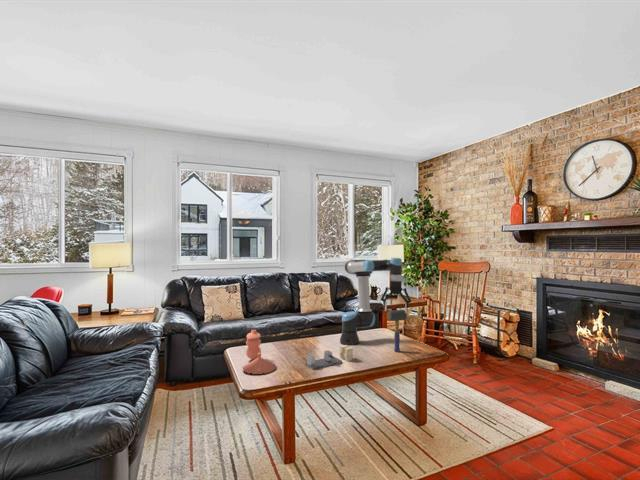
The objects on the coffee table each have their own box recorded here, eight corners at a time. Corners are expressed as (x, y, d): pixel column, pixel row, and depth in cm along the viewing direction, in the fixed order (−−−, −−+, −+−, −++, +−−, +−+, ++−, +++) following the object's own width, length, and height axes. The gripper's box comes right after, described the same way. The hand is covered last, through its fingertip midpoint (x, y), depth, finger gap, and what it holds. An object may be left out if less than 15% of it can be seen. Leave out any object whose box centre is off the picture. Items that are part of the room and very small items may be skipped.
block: (339, 357, 235) (339, 346, 236) (345, 356, 238) (345, 345, 238) (346, 361, 229) (346, 349, 229) (352, 360, 231) (352, 348, 231)
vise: (305, 364, 222) (305, 353, 222) (333, 358, 234) (333, 348, 234) (313, 369, 214) (313, 358, 214) (342, 362, 225) (342, 352, 225)
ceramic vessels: (280, 371, 212) (280, 340, 212) (245, 376, 204) (245, 344, 204) (267, 353, 244) (267, 327, 244) (236, 357, 236) (236, 329, 237)
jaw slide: (324, 359, 227) (324, 350, 227) (328, 358, 229) (328, 350, 229) (331, 363, 220) (331, 354, 220) (334, 362, 222) (334, 353, 222)
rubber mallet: (402, 349, 252) (402, 308, 253) (407, 353, 245) (407, 310, 245) (386, 351, 249) (386, 309, 250) (391, 354, 242) (391, 311, 242)
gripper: (376, 280, 237) (376, 311, 237) (414, 282, 228) (414, 314, 228) (378, 279, 244) (378, 309, 244) (415, 280, 235) (415, 312, 235)
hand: (395, 311), depth 236 cm, fingers open, 13 cm apart
